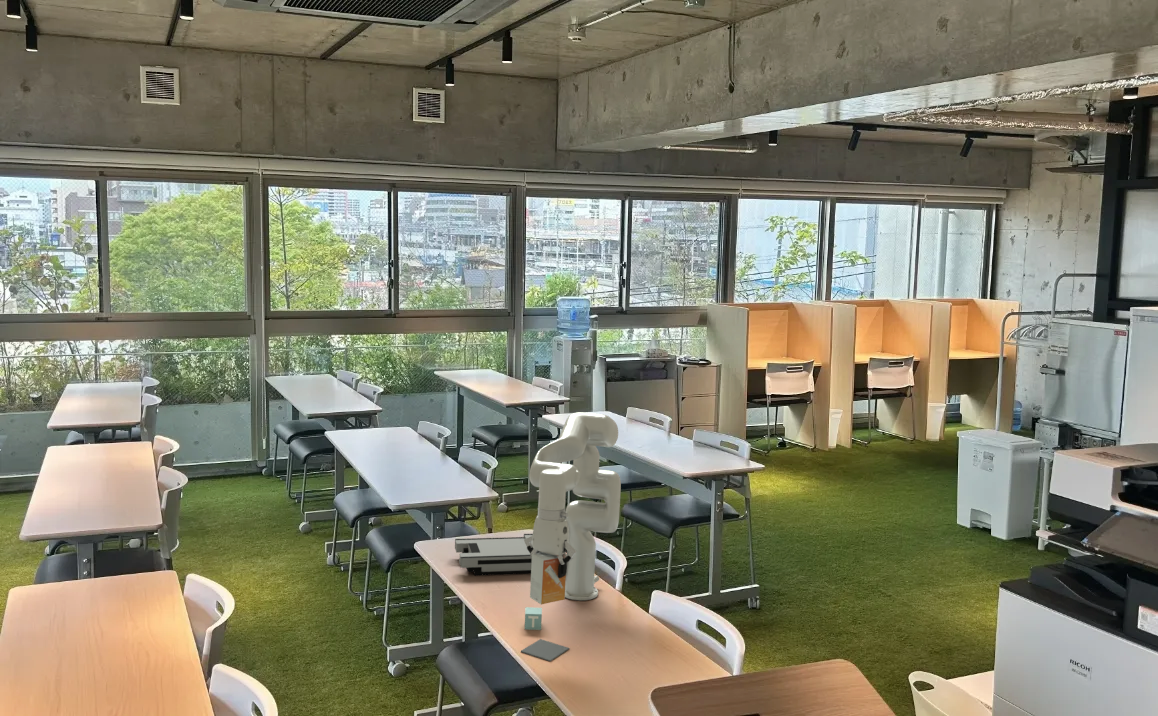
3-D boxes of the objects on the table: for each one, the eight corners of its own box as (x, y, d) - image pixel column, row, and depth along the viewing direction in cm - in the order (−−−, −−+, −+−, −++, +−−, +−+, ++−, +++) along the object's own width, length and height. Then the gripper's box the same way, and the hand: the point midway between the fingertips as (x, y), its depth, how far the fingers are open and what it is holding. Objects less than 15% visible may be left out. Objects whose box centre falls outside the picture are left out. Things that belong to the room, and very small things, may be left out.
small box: (541, 605, 267) (543, 560, 266) (529, 597, 273) (531, 553, 271) (565, 600, 272) (567, 555, 270) (553, 592, 277) (555, 549, 275)
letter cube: (524, 622, 293) (525, 607, 292) (541, 623, 293) (541, 607, 293) (524, 629, 288) (525, 613, 287) (541, 630, 288) (541, 614, 288)
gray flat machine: (454, 557, 349) (455, 535, 348) (541, 554, 356) (541, 533, 355) (460, 578, 329) (461, 554, 327) (552, 574, 336) (553, 552, 335)
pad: (540, 640, 281) (540, 638, 281) (569, 649, 276) (569, 647, 276) (520, 652, 273) (520, 650, 272) (550, 661, 267) (550, 660, 267)
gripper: (584, 516, 268) (581, 576, 270) (533, 504, 277) (530, 562, 279) (570, 522, 261) (567, 584, 264) (518, 510, 270) (515, 569, 273)
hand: (548, 572), depth 271 cm, fingers closed on small box, 8 cm apart
